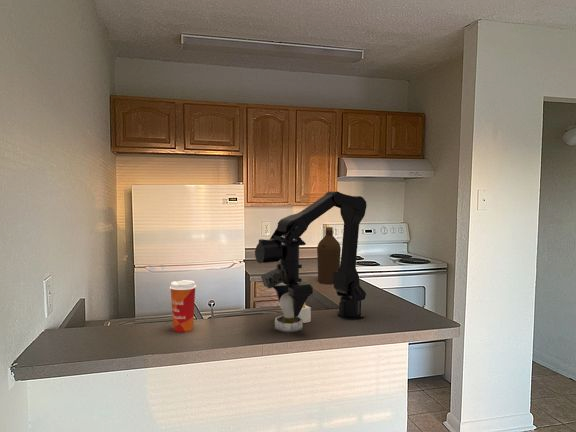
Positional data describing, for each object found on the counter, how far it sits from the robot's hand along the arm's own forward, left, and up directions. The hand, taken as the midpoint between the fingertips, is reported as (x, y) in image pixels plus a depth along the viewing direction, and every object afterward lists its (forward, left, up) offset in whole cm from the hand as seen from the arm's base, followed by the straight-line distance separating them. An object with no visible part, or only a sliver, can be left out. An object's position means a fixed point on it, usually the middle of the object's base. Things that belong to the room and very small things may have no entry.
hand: (289, 312), depth 127 cm
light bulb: (0, 0, -4) cm, 4 cm away
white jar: (-6, -5, -5) cm, 9 cm away
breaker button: (-6, -5, -2) cm, 8 cm away
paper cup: (+29, -11, -5) cm, 32 cm away
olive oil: (-45, -51, -5) cm, 68 cm away
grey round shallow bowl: (0, 0, -5) cm, 5 cm away
